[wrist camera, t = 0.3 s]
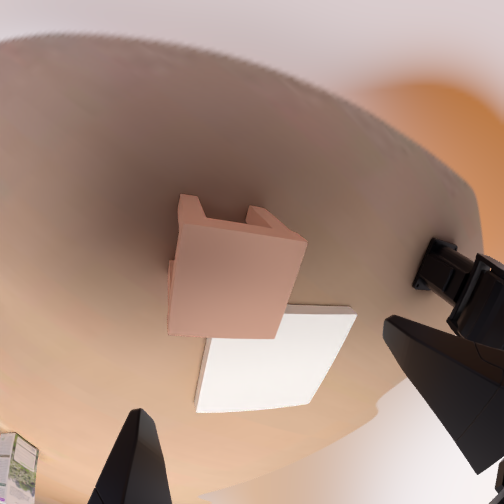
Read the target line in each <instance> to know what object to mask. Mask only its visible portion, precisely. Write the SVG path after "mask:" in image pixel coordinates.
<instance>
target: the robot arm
mask: <svg viewBox="0 0 504 504" xmlns="http://www.w3.org/2000/svg"><path fill="white" fill-rule="evenodd" d="M490 268H492V269H491V271H490ZM413 288H415V289H418V290H432V291H433V292H435V293H436V294H437V295H439V296H440V297H441V298H442V299H444V300H445V301H446V302H448V303H449V304H450V305H452V306H453V307H454V309H453V310H452V312H451V314H450V316H449V317H448V319H447V320H446V322H447V323H448V325H449V326H450V328H451V329H452V330H453V331H454V333H455V334H456V335H457V336H455V335H452V334H449V333H446V332H443V331H440V330H437V329H434V328H432V327H429V326H426V325H423V324H420V323H417V322H414V321H411V320H408V319H406V318H403V317H400V316H397V315H392V316H390V317H388V318H386V319H385V320H384V326H383V339H384V341H385V342H386V344H387V346H388V347H389V349H390V350H391V352H392V354H393V355H394V357H395V359H396V360H397V362H398V364H399V365H400V367H401V369H402V370H403V371H404V373H405V374H406V376H407V377H408V378H409V379H410V381H411V382H412V383H413V385H414V386H415V387H416V389H417V390H418V391H419V393H420V394H421V395H422V397H423V398H424V399H425V401H426V402H427V403H428V405H429V406H430V408H431V409H432V410H433V412H434V413H435V414H436V416H437V417H438V419H439V420H440V421H441V423H442V424H443V426H444V427H445V428H446V430H447V431H448V432H449V434H450V435H451V437H452V438H453V440H454V441H455V443H456V444H457V446H458V447H459V449H460V450H461V452H462V453H463V455H464V456H465V458H466V459H467V461H468V462H469V464H470V465H471V467H472V468H473V470H474V471H475V473H476V474H477V475H478V474H480V473H481V472H483V471H484V470H486V469H487V468H489V467H490V466H491V465H493V464H494V463H495V462H497V461H498V460H499V459H501V458H502V457H503V456H504V265H503V264H502V263H500V262H498V261H497V260H495V259H493V258H491V257H489V256H486V255H483V254H479V253H477V255H476V260H475V262H473V261H472V260H470V259H468V258H467V257H465V256H463V255H462V254H460V253H458V252H457V246H456V245H454V244H451V243H448V242H446V241H443V240H439V239H436V238H433V239H432V240H431V242H430V245H429V248H428V250H427V253H426V255H425V258H424V260H423V263H422V265H421V267H420V270H419V272H418V274H417V277H416V279H415V281H414V283H413ZM95 487H96V488H94V490H93V492H92V495H91V497H90V499H89V501H88V503H87V504H172V501H171V496H170V491H169V486H168V480H167V474H166V468H165V462H164V458H163V454H162V450H161V446H160V442H159V439H158V434H157V430H156V426H155V423H154V421H153V419H152V418H151V417H150V416H149V415H148V414H147V413H146V412H145V411H144V410H143V409H141V408H139V409H133V410H131V411H130V413H129V415H128V417H127V419H126V421H125V423H124V425H123V427H122V429H121V431H120V433H119V435H118V438H117V440H116V442H115V444H114V446H113V448H112V450H111V453H110V455H109V457H108V459H107V461H106V463H105V466H104V468H103V470H102V472H101V474H100V477H99V479H98V481H97V483H96V486H95ZM495 490H496V491H497V492H498V495H497V496H496V497H495V498H494V499H493V500H492V501H491V502H490V503H489V504H504V459H503V460H502V461H501V462H500V463H499V467H498V474H497V479H496V485H495Z"/></svg>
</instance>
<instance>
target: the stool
mask: <svg viewBox="0 0 504 504" xmlns="http://www.w3.org/2000/svg"><path fill="white" fill-rule="evenodd" d="M177 212H178V223H179V235H178V241H177V248H176V254H175V260H169V267H168V315H167V329H168V335H174V336H188V337H205V338H230V339H275V336H276V333H277V331H278V328H279V325H280V323H281V320H282V317H283V314H284V312H285V309H286V306H287V303H288V301H289V298H290V295H291V292H292V289H293V286H294V284H295V281H296V278H297V275H298V272H299V269H300V266H301V263H302V260H303V257H304V254H305V251H306V248H307V245H308V242H307V241H306V240H305V239H304V238H303V237H301V236H300V235H299V234H298V233H297V232H292V231H291V230H290V229H289V228H287V227H286V226H285V225H284V224H283V223H282V222H280V221H279V220H278V219H277V218H276V217H274V216H273V215H272V214H271V213H270V212H269V211H267V210H266V209H265V208H261V207H256V206H251V205H249V208H248V212H247V216H246V220H245V221H246V222H247V223H248V224H244V223H238V222H231V221H225V220H219V219H212V218H206V216H205V213H204V211H203V209H202V206H201V204H200V201H199V199H198V196H193V195H187V194H180V199H179V204H178V210H177Z"/></svg>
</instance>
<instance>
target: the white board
mask: <svg viewBox="0 0 504 504" xmlns="http://www.w3.org/2000/svg"><path fill="white" fill-rule="evenodd" d="M356 316H357V313H356V312H355V311H354V310H353V309H352V308H351V307H350V306H316V305H290V304H287V306H286V309H285V312H284V314H283V317H282V320H281V323H280V325H279V328H278V331H277V333H276V336H275V339H230V338H207V340H206V345H205V350H204V354H203V359H202V364H201V369H200V374H199V379H198V385H197V390H196V395H195V400H194V405H195V410H196V413H215V412H238V411H252V410H263V409H273V408H282V407H290V406H297V405H304V404H309V402H310V401H311V399H312V397H313V396H314V394H315V393H316V391H317V389H318V388H319V386H320V384H321V382H322V381H323V379H324V377H325V376H326V374H327V372H328V370H329V368H330V367H331V365H332V363H333V361H334V359H335V358H336V356H337V354H338V352H339V350H340V348H341V346H342V344H343V342H344V341H345V339H346V337H347V335H348V333H349V331H350V329H351V327H352V325H353V323H354V321H355V318H356Z"/></svg>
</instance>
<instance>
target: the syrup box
mask: <svg viewBox="0 0 504 504" xmlns="http://www.w3.org/2000/svg"><path fill="white" fill-rule="evenodd" d="M38 453H39V450H38V449H37V448H35V447H34V446H32V445H31V444H30V443H28V442H27V441H26V440H24V439H23V438H22V437H20V436H19V435H18V434H16V433H1V435H0V504H34V499H35V481H36V470H37V460H38Z"/></svg>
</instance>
